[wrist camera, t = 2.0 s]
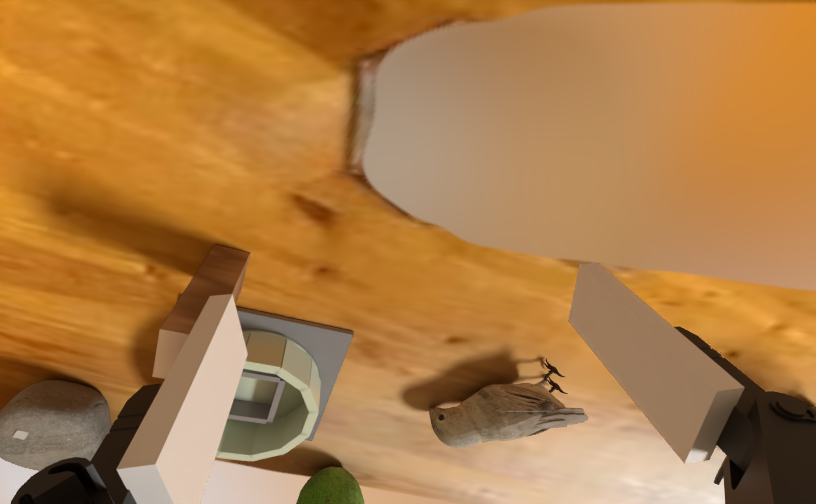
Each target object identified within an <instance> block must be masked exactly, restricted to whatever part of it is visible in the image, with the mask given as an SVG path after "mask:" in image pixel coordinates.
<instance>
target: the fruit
mask: <svg viewBox="0 0 816 504" xmlns="http://www.w3.org/2000/svg"><path fill="white" fill-rule="evenodd" d="M296 504H364V499H363V496H362V493H361V489H360V487H359V484H358V482H357V481H356V480H355V478H354V477H353V476H352V475H351V474H350V473H349V472H348V471H347V470H345V469H343V468H340V467H332V466H331V467H327V468H324V469H322V470H320V471H319V472H317V473H316V474H314V475H313V476H312V477H311V478H310V479H309V480H308V481H307V483H306V484H305V485H304V487H303V488H302V490H301V492H300V495H299V498H298V500H297V503H296Z"/></svg>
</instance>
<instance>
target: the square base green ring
mask: <svg viewBox="0 0 816 504" xmlns="http://www.w3.org/2000/svg"><path fill="white" fill-rule="evenodd" d="M236 310H237V314H238V318H239V321H240V325H241V329H242V333H243V337H244V341H245V345H246V349H247V353H248V355H247V358H246V361H245V365H244V368H243V371H242V374H241V377H240V380H239V384H238V387H237V390H236V393H235V396H234V400H233V403H232V406H231V409H230V412H229V415H228V419H227V422H226V425H225V428H224V431H223V434H222V438H221V441H220V444H219V447H218V450H217V454H216V456H217V458H224V459H233V460H242V461H251V460H252V461H256V460H261V459H265V458H269V457H274V456H278V455H283V454H285V453H287V452H289V451H290V450H291V449H293V448H294V447H295V446H297V445H298V444H300V443H301V442H302V441H304V440H309V441H312V440H313V438H314V435H315V432H316V430H317V427H318V425H319V422H320V420H321V417H322V415H323V412H324V409H325V407H326V404H327V402H328V399H329V397H330V394H331V391H332V389H333V386H334V384H335V381H336V379H337V376H338V373H339V371H340V368H341V366H342V363H343V361H344V358H345V356H346V353H347V350H348V348H349V345H350V343H351V340H352V338H353V331H350V330H345V329H340V328H335V327H331V326H326V325H321V324H316V323H312V322H307V321H302V320H298V319H293V318H288V317H283V316H279V315H274V314H269V313H265V312H260V311H255V310H250V309H246V308H241V307H236Z"/></svg>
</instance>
